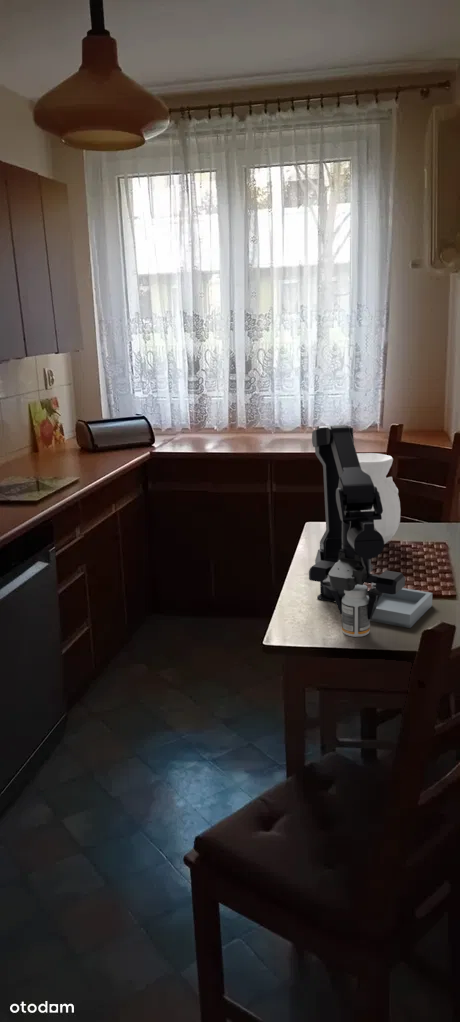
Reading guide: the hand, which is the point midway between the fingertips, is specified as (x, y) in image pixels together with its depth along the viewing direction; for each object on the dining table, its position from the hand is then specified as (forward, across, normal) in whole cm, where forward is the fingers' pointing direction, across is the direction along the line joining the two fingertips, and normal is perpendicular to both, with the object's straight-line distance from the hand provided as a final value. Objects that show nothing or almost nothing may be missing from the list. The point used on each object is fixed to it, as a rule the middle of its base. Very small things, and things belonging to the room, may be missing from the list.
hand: (355, 616), depth 160 cm
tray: (+4, +3, +14) cm, 15 cm away
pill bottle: (+4, 0, 0) cm, 4 cm away
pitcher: (+4, -21, +55) cm, 59 cm away
